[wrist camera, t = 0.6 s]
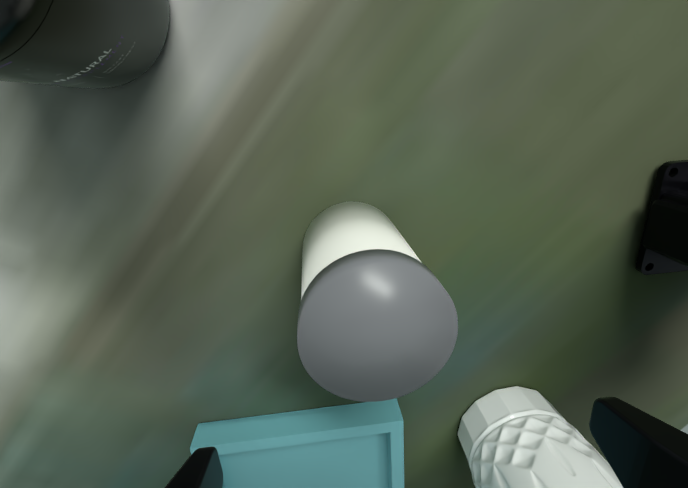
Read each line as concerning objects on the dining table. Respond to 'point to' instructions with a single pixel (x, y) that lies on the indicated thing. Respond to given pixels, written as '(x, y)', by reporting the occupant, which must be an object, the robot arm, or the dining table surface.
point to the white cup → (528, 445)
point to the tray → (311, 447)
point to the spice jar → (369, 308)
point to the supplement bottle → (80, 41)
